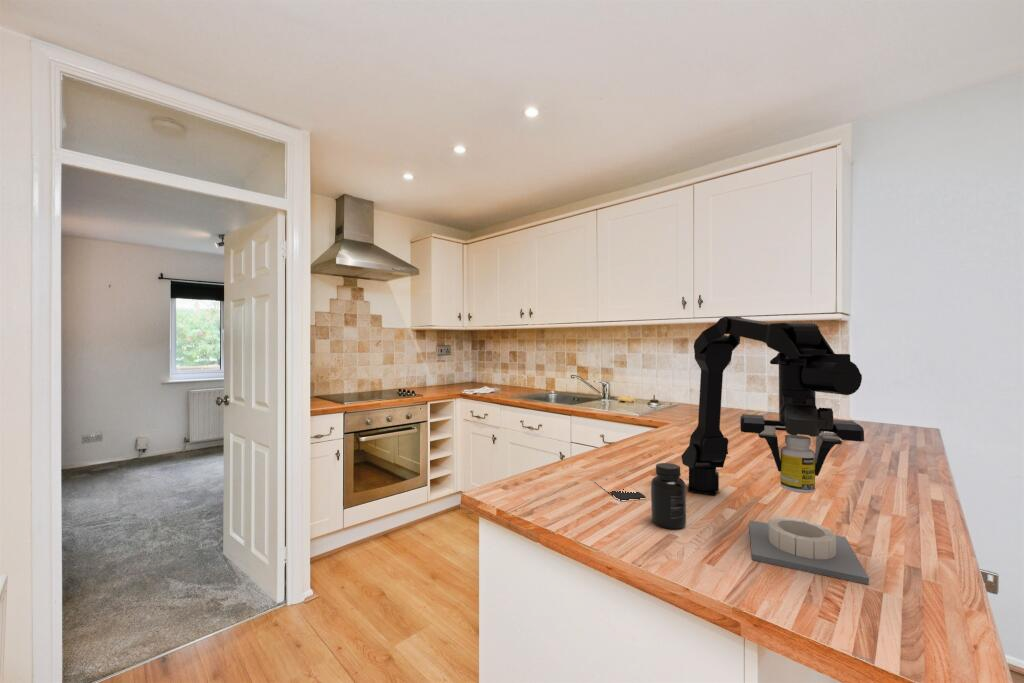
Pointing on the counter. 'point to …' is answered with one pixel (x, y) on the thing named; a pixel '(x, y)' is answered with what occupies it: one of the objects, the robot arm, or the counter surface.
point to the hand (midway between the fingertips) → (797, 473)
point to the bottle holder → (805, 548)
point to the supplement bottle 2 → (797, 465)
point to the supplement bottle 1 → (668, 497)
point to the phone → (627, 495)
